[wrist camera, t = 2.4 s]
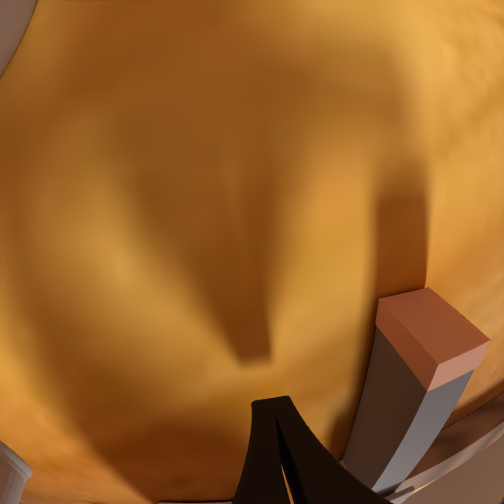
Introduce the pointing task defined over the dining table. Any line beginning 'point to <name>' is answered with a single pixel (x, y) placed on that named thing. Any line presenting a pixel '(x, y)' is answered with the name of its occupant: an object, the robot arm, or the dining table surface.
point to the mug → (13, 27)
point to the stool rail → (455, 447)
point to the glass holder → (12, 475)
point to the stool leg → (410, 385)
